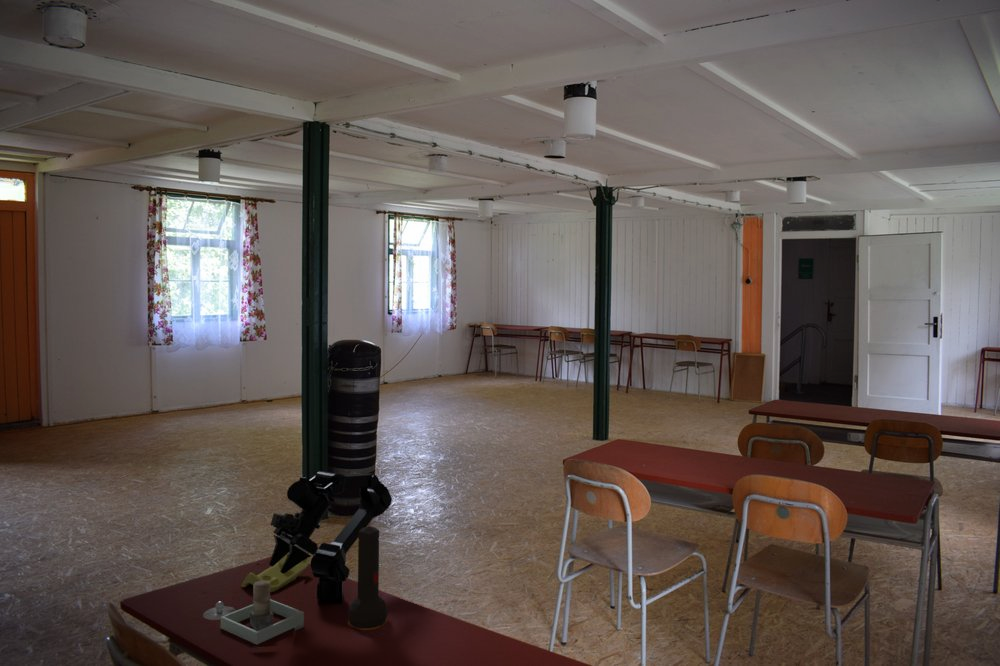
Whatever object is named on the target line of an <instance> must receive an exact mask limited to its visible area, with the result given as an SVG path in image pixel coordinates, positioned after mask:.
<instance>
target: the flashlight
mask: <svg viewBox="0 0 1000 666" xmlns="http://www.w3.org/2000/svg"><path fill="white" fill-rule="evenodd" d="M379 539H380V530H379V529H378V528H377V527H375V526H369V525H367V527H364V528H362V529H361V530H360V531H359V533H358V538H357V540H358V544H357V546H358V547H357V548H358V549H357V551H358V552H357V555H358V557H357V596H356V597H355V598H354V599H353V600H352V602H351V604H350V605H349V608H348V613H347V617H348V622H349V625H350V626H353V628H355V629H362V630H363V629H374V628H378V627H381V626H382V625H384V624H385V623H386V620H387V618H388V606H387V604H386V602H385V600H384V599H383V598H382V597H381V596H380V595H379V587H380V586H379V583H380V582H379V581H380V579H379V576H380V575H379V574H380V573H379V572H380V571H379V570H380V569H379V568H380V565H379V564H380V540H379Z"/></svg>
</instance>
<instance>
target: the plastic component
mask: <svg viewBox="0 0 1000 666" xmlns="http://www.w3.org/2000/svg"><path fill="white" fill-rule="evenodd" d="M288 554H289V553H288ZM288 554H286V555H285V556H284V557H283V558H282V559H281V560H280V561H279V562H278V563H276V564H275V565H274V566H273V567H272V566H269V567H267V569H265V570H263V571H262V572H259V573H258V574H257V575H256V574H255V573H253V572H249V573H247V574H246V577H245V578H244V580H243V582H242V583H241V585H240V587H241V588H247V587H249V586H250V585H252V586H253V584H254V583H255V582H258V581H269V582H270V593H274V592H276V591H277V590H279V589H281V588H283V587H284V586H287V585H288V584H289V583H291V582H293V581H296V580H297V577H298V576H300V575H301V574H302V573H303V572H304V571H305V570H306V569H307V567H308V566H309V564H310V557H308V558H307V559H305V560H303V561H302V562H300V563H299V564H297V565H296V566H294V567H293V568H292V569H290V570H289V571H287V572H286V573H284V574H283V573H281V572H280V571H281V569H282V566H283V564H284V562H285V560H286V558H287V556H288Z"/></svg>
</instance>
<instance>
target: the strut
mask: <svg viewBox="0 0 1000 666" xmlns="http://www.w3.org/2000/svg"><path fill="white" fill-rule="evenodd" d="M252 586H253V590H252V593H253V599H252V600H253V602H252V604H253V611H252V612H250V618H249V626H250V627H251V629H253V630H255V631H259V630H261V629H264V628H266V627H268V626H271V625H273V624H274V612H271V611H270V599H271V592H270V582H269V581H258V582H255V583H254V584H253V585H252Z"/></svg>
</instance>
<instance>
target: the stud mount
mask: <svg viewBox="0 0 1000 666" xmlns="http://www.w3.org/2000/svg"><path fill="white" fill-rule="evenodd" d="M235 611H237V610H236V608H234V607H233V606H226V605H224V602H223V601H221V600H220V601H217V602H216V603H215V607H211V608H209V609H207V610H205V611H204V612H203V614H202V617H203V618H205V619H206V620H210V621H219V620H220V621H221V617H222V616H224V615H227V614H229V613H232V612H235Z"/></svg>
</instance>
